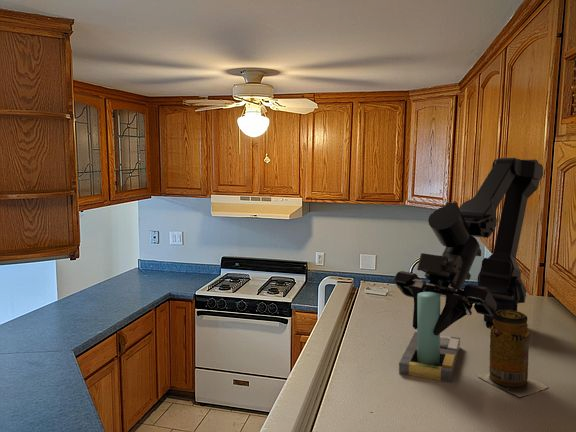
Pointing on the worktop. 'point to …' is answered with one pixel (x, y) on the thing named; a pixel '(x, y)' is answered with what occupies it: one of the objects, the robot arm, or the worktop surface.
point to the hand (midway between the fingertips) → (424, 331)
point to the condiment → (510, 354)
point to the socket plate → (431, 371)
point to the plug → (428, 328)
